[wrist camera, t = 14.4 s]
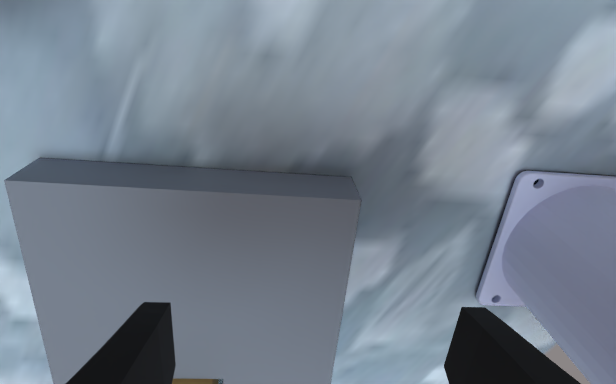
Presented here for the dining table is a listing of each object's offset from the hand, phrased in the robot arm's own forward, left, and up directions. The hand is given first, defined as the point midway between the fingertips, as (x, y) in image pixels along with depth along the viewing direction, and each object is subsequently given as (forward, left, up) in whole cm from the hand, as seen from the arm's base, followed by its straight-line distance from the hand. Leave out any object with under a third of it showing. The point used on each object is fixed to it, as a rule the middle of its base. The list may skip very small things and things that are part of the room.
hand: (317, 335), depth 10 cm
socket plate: (+5, +11, -10) cm, 15 cm away
